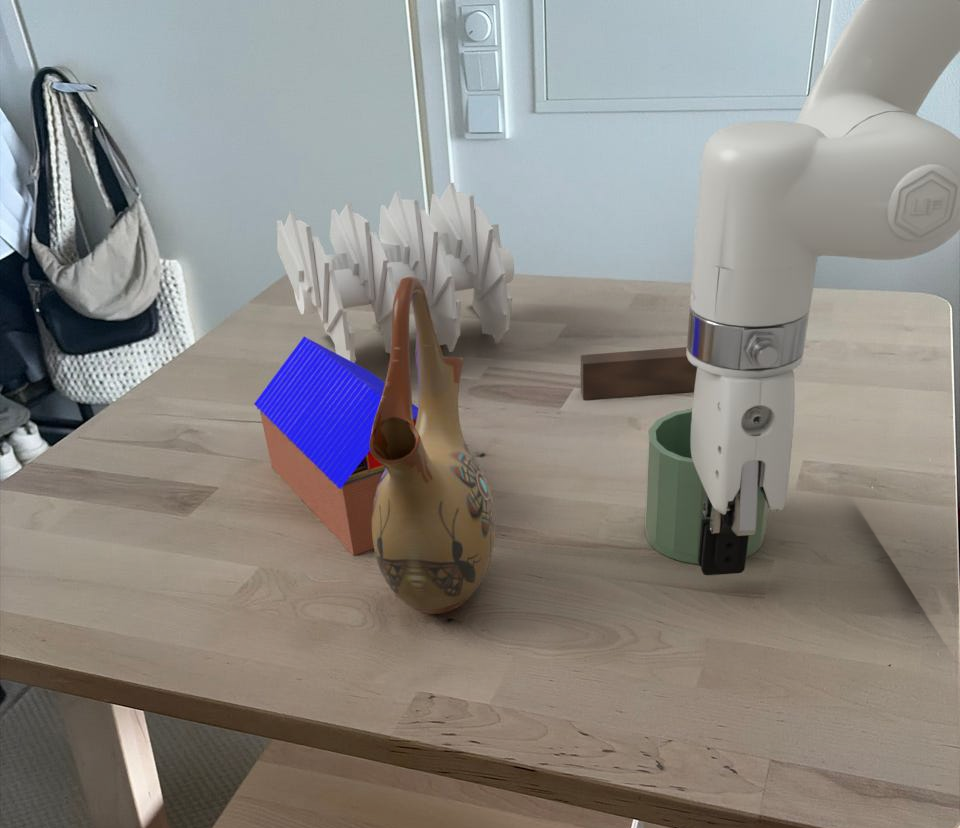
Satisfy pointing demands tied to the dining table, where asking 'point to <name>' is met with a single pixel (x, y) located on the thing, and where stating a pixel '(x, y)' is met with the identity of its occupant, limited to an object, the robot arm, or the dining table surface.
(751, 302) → the robot arm
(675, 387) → the block
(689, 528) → the bucket
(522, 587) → the dining table surface
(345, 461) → the house
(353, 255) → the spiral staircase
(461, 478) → the ceramic vessel
